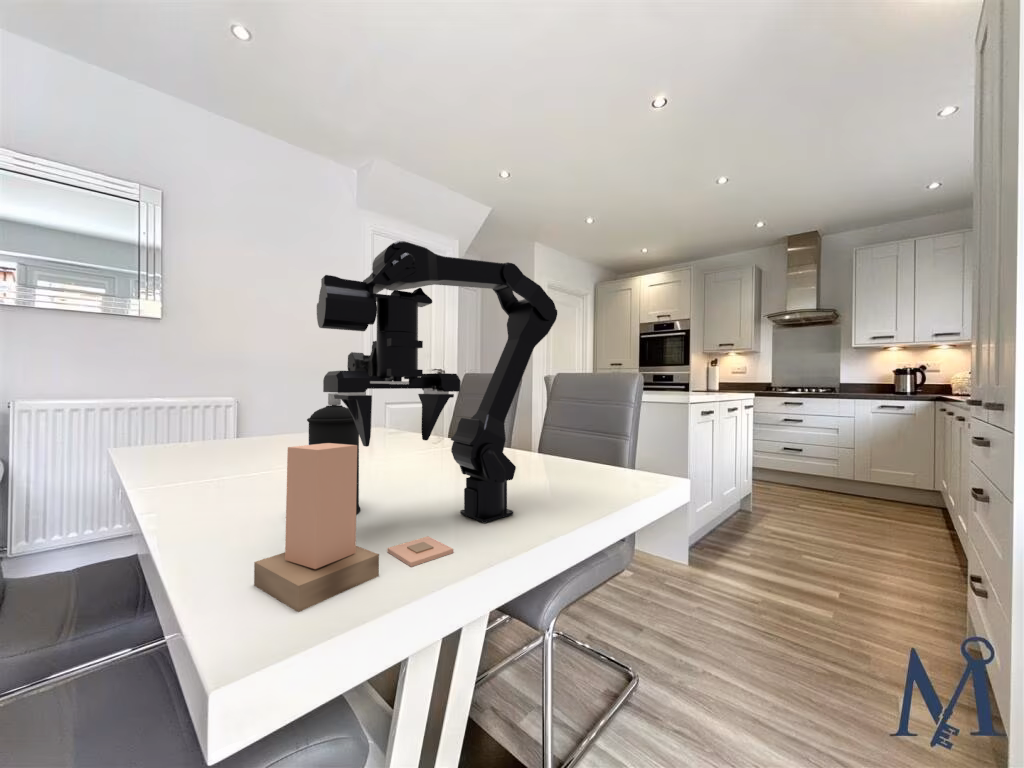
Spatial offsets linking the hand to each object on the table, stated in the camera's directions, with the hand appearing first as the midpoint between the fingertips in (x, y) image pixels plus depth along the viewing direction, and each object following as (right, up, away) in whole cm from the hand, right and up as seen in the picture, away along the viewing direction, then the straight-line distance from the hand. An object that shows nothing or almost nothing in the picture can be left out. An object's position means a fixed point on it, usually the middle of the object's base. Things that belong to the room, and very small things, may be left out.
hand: (397, 443), depth 59 cm
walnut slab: (-5, -14, -14) cm, 20 cm away
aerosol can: (-13, -13, +10) cm, 21 cm away
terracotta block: (-4, -10, -14) cm, 18 cm away
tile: (+5, -13, -7) cm, 15 cm away
